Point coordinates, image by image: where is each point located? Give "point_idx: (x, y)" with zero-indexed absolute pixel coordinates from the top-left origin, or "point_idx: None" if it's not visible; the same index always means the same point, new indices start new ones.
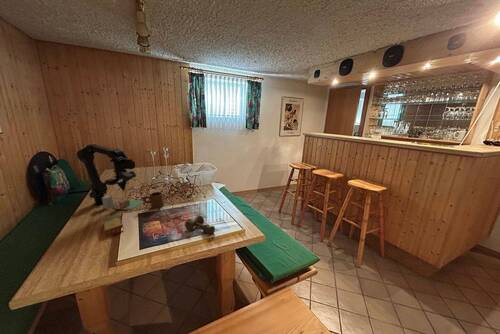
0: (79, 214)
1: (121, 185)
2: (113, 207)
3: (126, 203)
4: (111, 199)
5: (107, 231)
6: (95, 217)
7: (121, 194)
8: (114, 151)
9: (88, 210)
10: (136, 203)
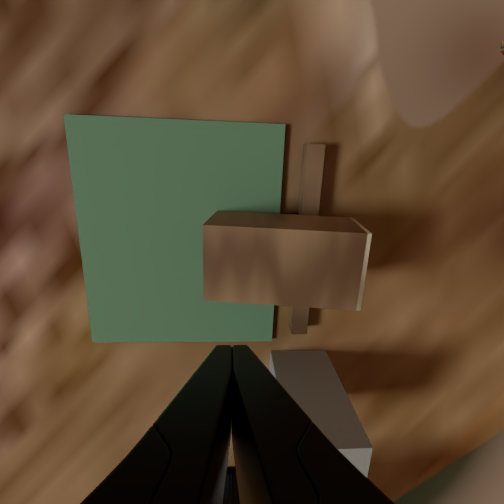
0: (435, 462)
1: (347, 475)
2: (305, 325)
3: (255, 220)
4: None
5: None
6: (472, 317)
7: (40, 501)
8: None
9: (372, 465)
10: (149, 176)
